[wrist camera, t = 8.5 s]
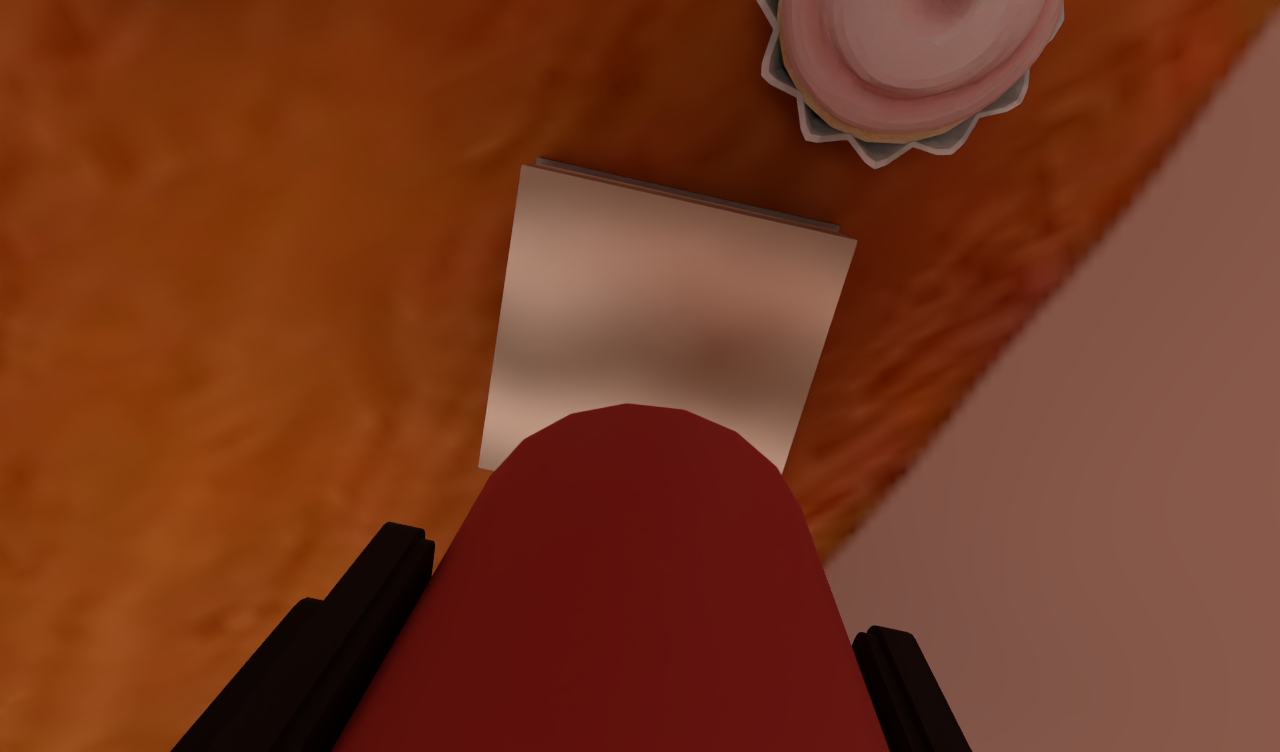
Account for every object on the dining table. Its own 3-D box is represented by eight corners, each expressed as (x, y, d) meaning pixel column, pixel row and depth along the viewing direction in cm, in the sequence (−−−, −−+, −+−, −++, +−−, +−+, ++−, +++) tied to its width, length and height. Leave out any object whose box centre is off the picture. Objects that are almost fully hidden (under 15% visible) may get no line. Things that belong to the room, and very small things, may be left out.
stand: (539, 157, 25) (516, 157, 22) (836, 224, 26) (865, 235, 22) (498, 430, 30) (472, 470, 26) (755, 486, 30) (767, 533, 26)
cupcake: (698, -36, 23) (717, -171, 14) (953, -169, 21) (1176, -427, 12) (785, 205, 26) (852, 232, 16) (1019, 104, 24) (1243, 67, 15)
